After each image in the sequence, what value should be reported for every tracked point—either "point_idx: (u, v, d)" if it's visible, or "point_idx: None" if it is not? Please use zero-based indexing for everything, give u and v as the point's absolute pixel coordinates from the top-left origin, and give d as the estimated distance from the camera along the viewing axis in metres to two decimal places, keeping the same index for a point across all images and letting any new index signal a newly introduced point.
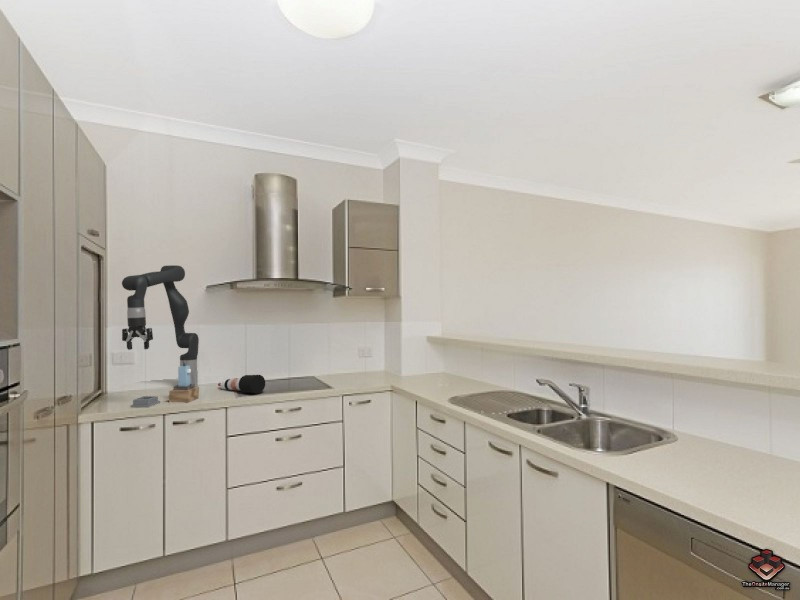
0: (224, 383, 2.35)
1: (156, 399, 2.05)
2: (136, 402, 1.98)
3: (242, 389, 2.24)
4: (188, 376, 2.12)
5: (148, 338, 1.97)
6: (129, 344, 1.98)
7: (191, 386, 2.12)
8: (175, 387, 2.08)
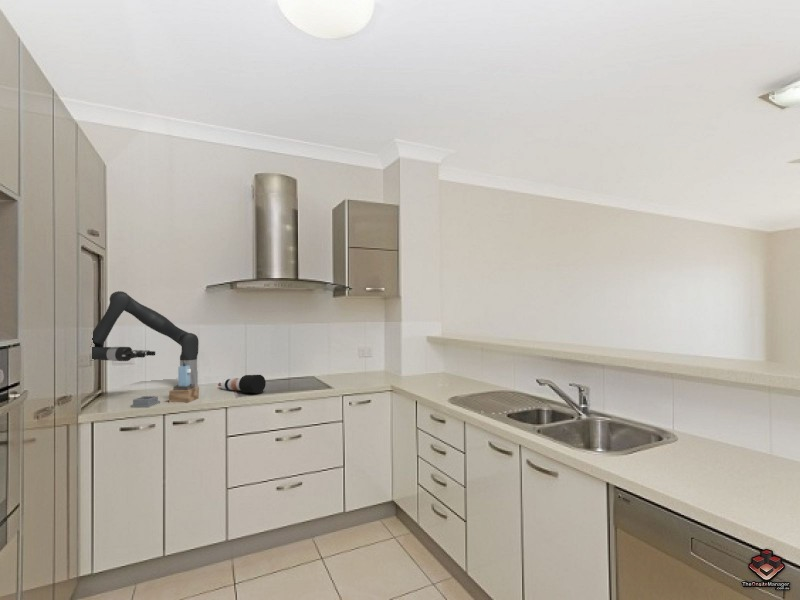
0: (224, 383, 2.35)
1: (156, 399, 2.05)
2: (136, 402, 1.98)
3: (243, 389, 2.25)
4: (188, 376, 2.12)
5: None
6: (149, 354, 2.16)
7: (191, 386, 2.12)
8: (175, 387, 2.08)
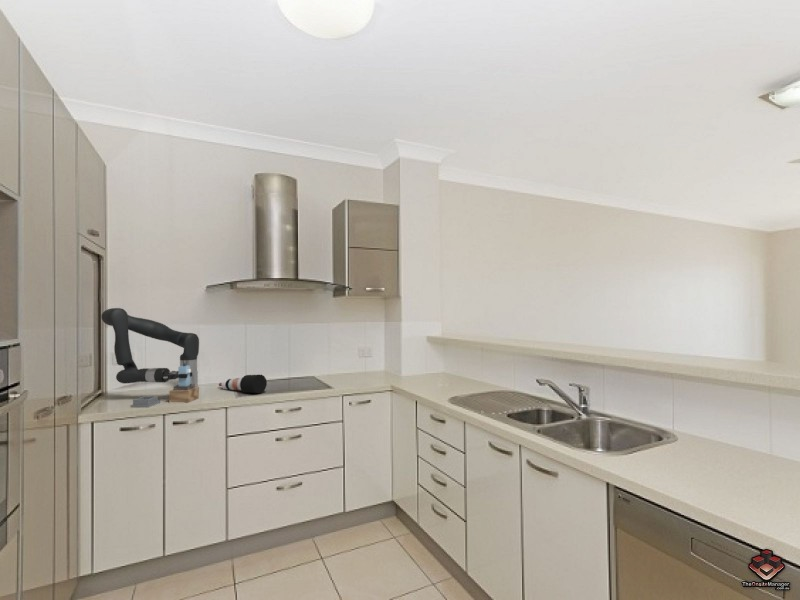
0: (225, 383, 2.35)
1: (156, 399, 2.05)
2: (136, 402, 1.98)
3: (244, 389, 2.25)
4: (188, 376, 2.12)
5: None
6: None
7: (191, 386, 2.12)
8: (175, 387, 2.08)
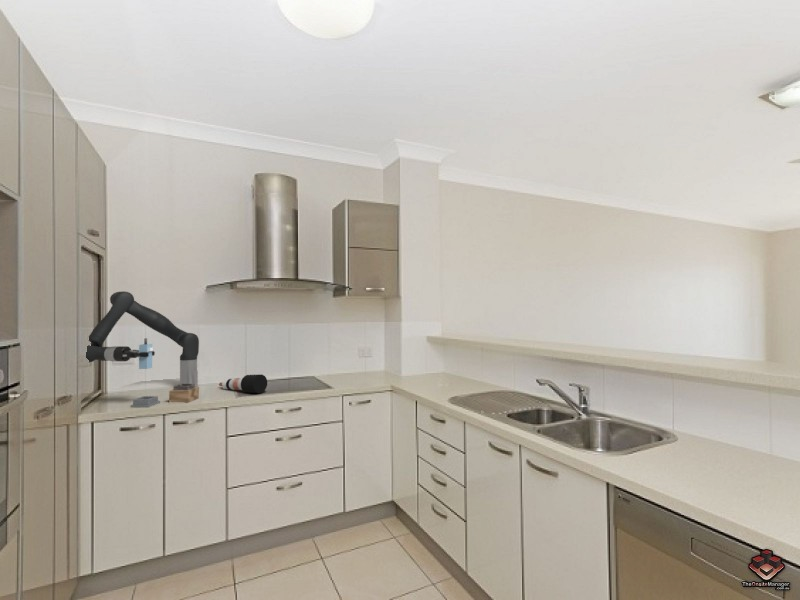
0: (225, 383, 2.35)
1: (156, 399, 2.05)
2: (136, 402, 1.98)
3: (244, 389, 2.25)
4: (150, 355, 2.03)
5: (134, 357, 1.98)
6: None
7: (191, 386, 2.12)
8: (175, 387, 2.08)
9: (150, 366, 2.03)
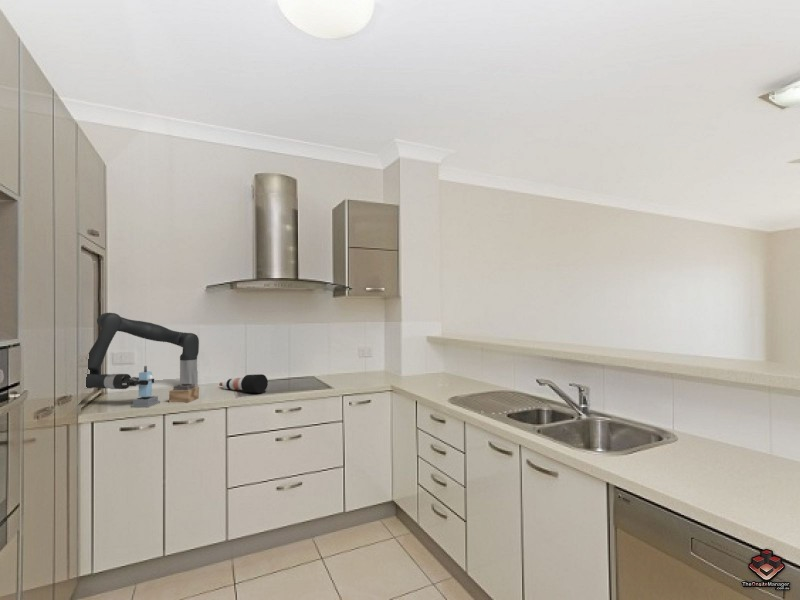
0: (226, 383, 2.36)
1: (156, 399, 2.05)
2: (136, 402, 1.98)
3: (245, 389, 2.26)
4: (149, 383, 2.03)
5: None
6: None
7: (191, 386, 2.12)
8: (175, 387, 2.08)
9: (150, 394, 2.03)
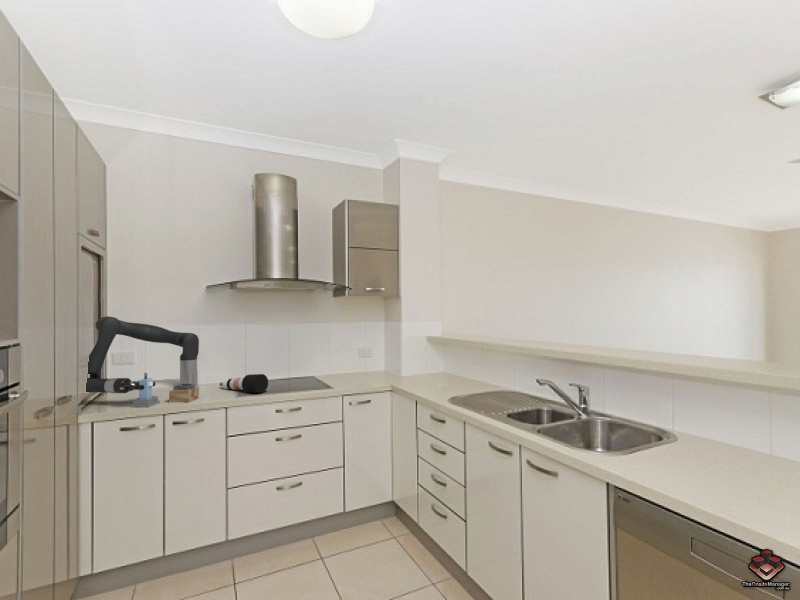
0: (226, 383, 2.36)
1: (156, 399, 2.05)
2: (136, 402, 1.98)
3: (245, 388, 2.26)
4: (150, 389, 2.03)
5: None
6: None
7: (191, 386, 2.12)
8: (175, 387, 2.08)
9: None
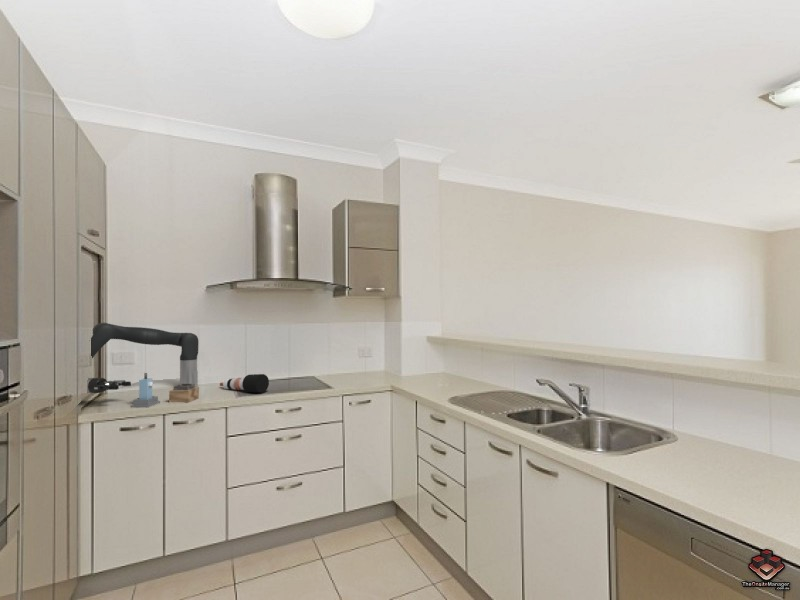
0: (227, 383, 2.36)
1: (156, 399, 2.05)
2: (136, 402, 1.98)
3: (246, 388, 2.26)
4: (150, 389, 2.03)
5: None
6: (125, 384, 2.07)
7: (191, 386, 2.12)
8: (175, 387, 2.08)
9: None
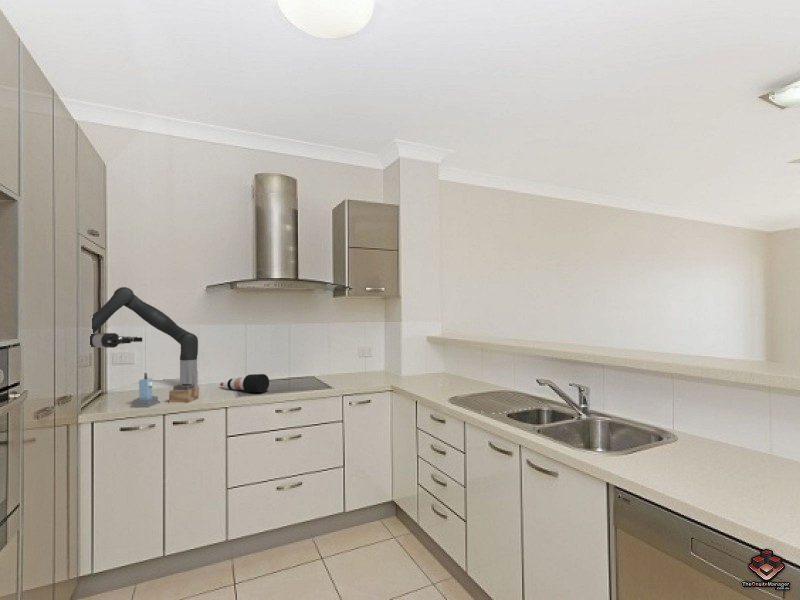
0: (227, 383, 2.36)
1: (156, 399, 2.05)
2: (136, 402, 1.98)
3: (247, 388, 2.26)
4: (150, 389, 2.03)
5: (116, 343, 2.02)
6: (136, 340, 2.13)
7: (191, 386, 2.12)
8: (175, 387, 2.08)
9: None
